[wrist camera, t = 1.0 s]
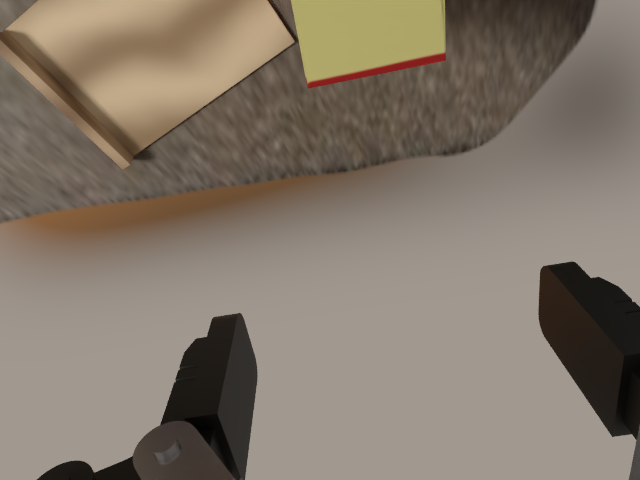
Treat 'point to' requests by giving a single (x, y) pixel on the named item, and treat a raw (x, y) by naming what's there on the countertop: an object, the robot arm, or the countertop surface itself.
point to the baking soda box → (367, 37)
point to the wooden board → (139, 60)
